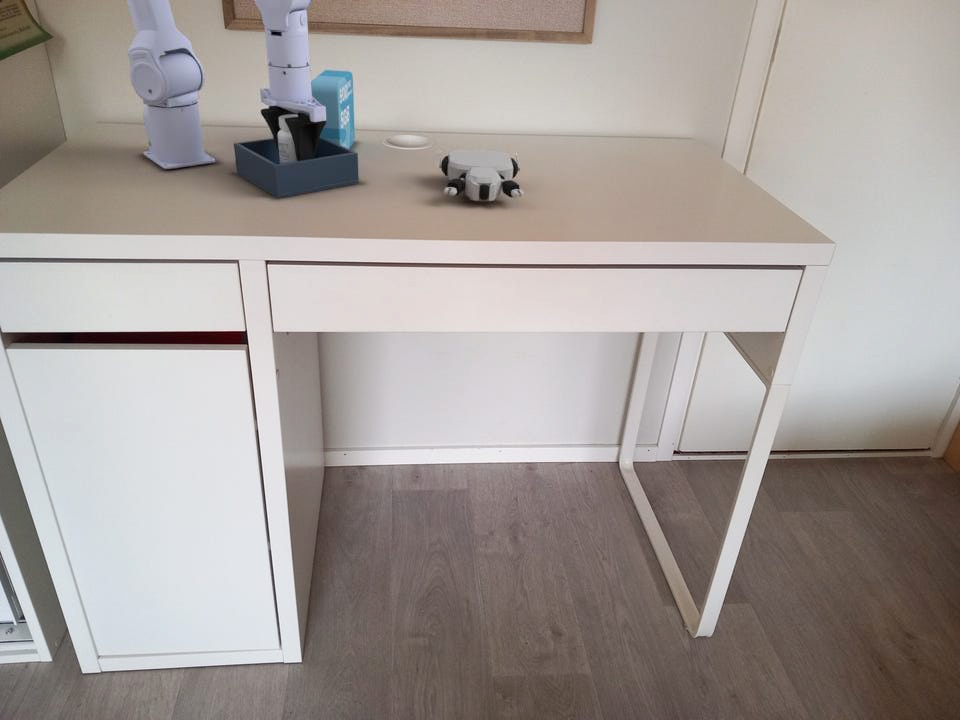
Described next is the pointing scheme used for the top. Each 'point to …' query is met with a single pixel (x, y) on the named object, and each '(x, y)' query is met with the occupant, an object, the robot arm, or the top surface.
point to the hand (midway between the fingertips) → (296, 161)
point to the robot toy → (480, 174)
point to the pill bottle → (286, 141)
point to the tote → (296, 168)
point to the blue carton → (336, 105)
